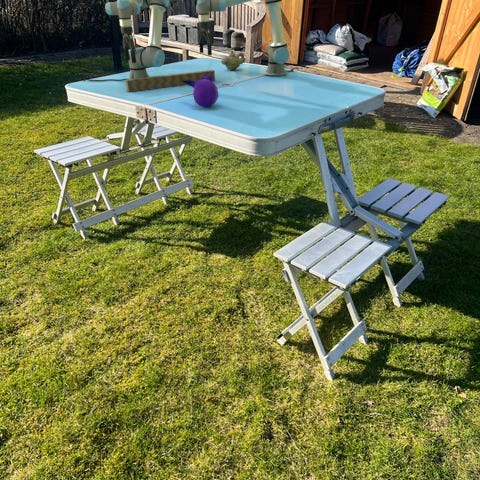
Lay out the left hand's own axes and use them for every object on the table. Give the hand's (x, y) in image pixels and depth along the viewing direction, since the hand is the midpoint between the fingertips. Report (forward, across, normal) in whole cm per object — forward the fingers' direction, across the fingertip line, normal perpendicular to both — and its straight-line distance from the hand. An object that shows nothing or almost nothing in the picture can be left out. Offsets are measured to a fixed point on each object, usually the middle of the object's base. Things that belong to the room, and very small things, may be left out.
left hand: (131, 61), depth 301 cm
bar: (+19, 0, -28) cm, 34 cm away
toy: (+19, -63, -22) cm, 69 cm away
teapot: (+19, +30, -94) cm, 101 cm away
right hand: (0, 0, -56) cm, 56 cm away
